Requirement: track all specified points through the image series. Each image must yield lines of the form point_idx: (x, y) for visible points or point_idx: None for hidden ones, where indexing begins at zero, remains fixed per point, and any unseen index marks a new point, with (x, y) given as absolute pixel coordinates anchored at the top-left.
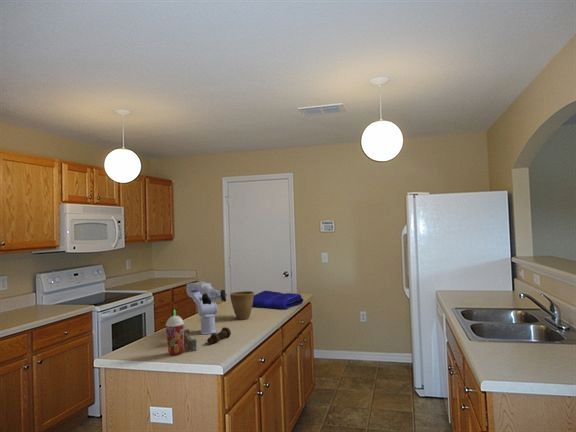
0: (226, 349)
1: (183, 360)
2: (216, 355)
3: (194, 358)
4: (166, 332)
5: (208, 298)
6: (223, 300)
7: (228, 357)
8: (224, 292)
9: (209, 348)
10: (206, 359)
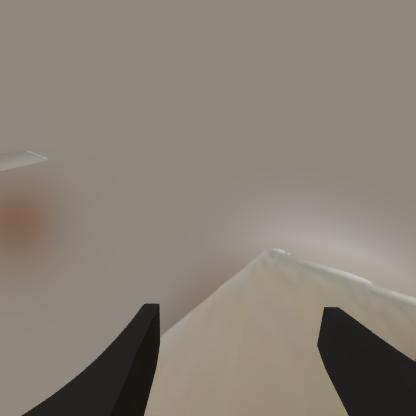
0: (232, 336)
1: (377, 303)
2: (273, 299)
3: (343, 304)
4: None
5: (370, 337)
6: (146, 396)
7: (242, 274)
8: (52, 399)
9: (298, 385)
10: (303, 284)
